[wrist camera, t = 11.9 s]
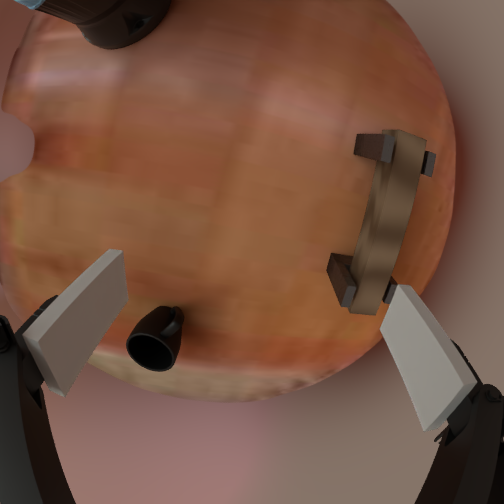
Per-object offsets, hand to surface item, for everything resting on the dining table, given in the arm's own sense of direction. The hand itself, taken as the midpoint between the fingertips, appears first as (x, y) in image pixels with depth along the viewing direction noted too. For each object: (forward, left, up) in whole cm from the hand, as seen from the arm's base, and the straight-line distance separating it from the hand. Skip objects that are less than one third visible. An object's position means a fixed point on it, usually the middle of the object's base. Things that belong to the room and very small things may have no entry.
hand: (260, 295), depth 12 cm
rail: (+1, +16, -24) cm, 29 cm away
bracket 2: (+9, +16, -28) cm, 33 cm away
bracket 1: (-9, +16, -28) cm, 33 cm away
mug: (+23, -12, -28) cm, 39 cm away
